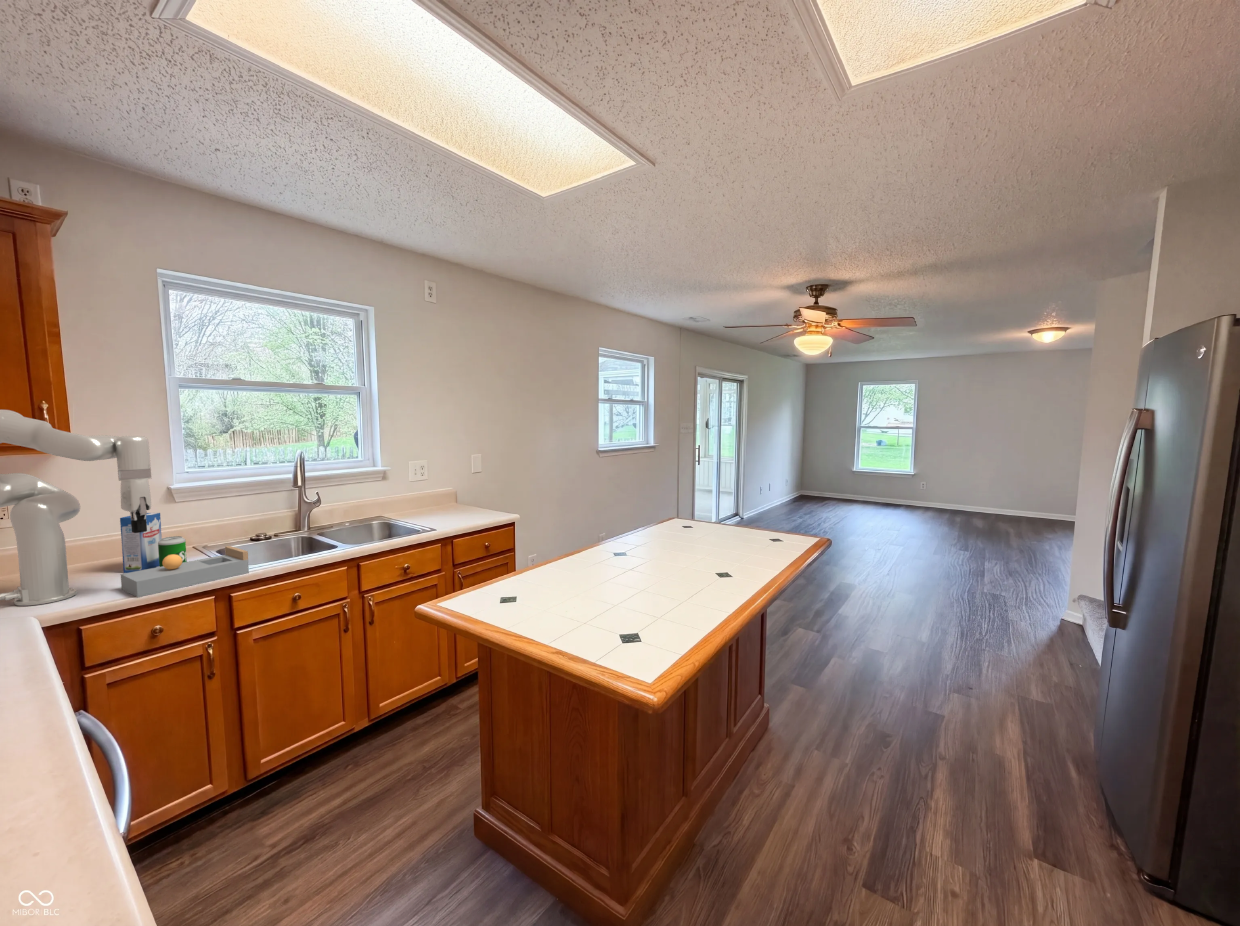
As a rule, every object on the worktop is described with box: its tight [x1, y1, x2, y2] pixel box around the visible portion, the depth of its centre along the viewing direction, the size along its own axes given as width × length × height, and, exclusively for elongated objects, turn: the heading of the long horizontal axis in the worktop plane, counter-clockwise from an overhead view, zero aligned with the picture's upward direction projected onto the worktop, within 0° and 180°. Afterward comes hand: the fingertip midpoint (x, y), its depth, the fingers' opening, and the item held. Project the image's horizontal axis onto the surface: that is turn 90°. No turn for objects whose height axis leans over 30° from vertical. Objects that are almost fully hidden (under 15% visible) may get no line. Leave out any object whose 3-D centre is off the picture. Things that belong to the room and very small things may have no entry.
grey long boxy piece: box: [120, 545, 250, 598], centre depth 170 cm, size 30×14×8 cm, turn 149°
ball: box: [162, 554, 182, 570], centre depth 167 cm, size 5×5×5 cm
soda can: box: [158, 535, 188, 567], centre depth 182 cm, size 8×8×12 cm
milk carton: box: [119, 512, 163, 574], centre depth 182 cm, size 10×6×20 cm, turn 10°
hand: (139, 531), depth 159 cm, fingers closed
